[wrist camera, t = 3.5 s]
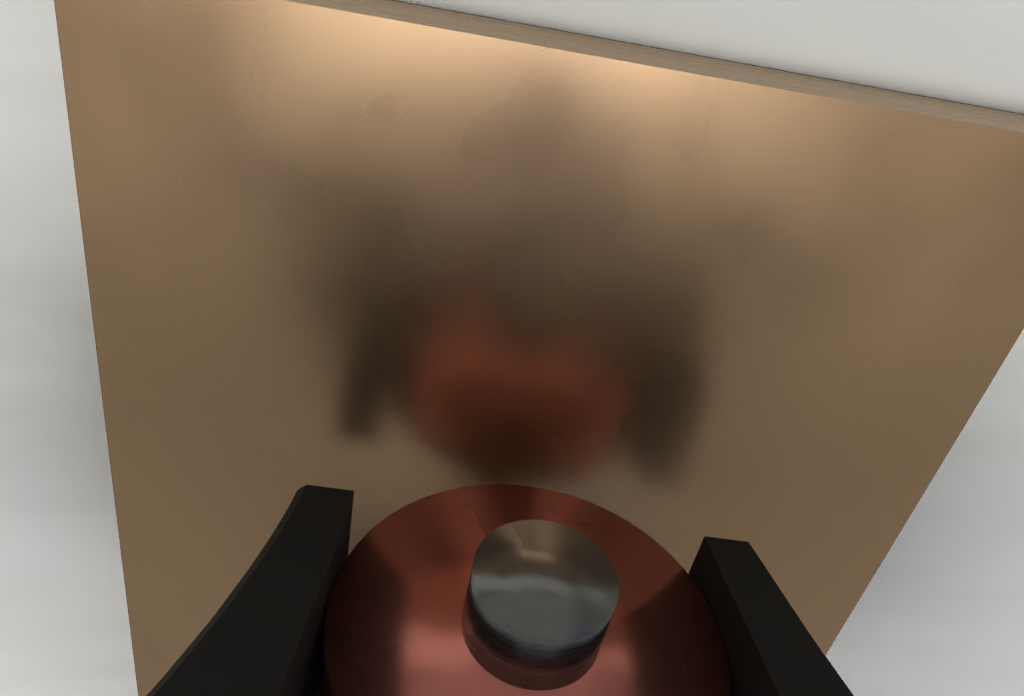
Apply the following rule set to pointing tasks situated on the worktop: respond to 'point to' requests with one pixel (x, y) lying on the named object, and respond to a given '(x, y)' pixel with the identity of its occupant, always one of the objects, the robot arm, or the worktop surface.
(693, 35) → the worktop surface
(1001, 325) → the wooden base with bracket
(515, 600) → the red-capped metal rod
